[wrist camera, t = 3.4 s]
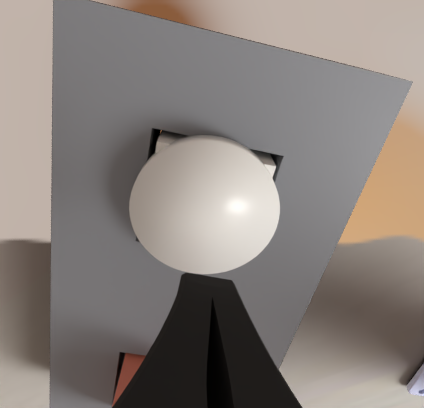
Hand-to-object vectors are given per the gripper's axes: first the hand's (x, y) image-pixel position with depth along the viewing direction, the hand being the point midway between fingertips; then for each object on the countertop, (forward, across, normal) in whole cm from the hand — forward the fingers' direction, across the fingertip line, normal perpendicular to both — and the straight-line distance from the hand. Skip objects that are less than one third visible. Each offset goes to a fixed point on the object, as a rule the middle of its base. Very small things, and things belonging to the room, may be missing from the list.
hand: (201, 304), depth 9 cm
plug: (+9, 0, 0) cm, 9 cm away
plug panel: (+9, 0, +6) cm, 11 cm away
